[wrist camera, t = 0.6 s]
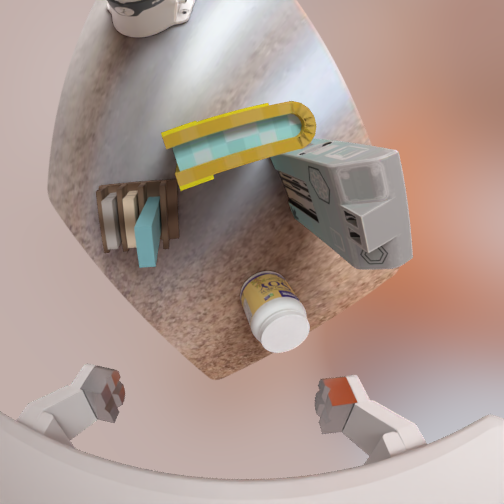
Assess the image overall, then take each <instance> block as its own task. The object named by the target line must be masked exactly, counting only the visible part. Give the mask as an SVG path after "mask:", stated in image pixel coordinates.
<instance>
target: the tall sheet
mask: <svg viewBox="0 0 504 504" xmlns="http://www.w3.org/2000/svg"><path fill="white" fill-rule="evenodd" d="M134 230H135V239H136V247H137V254H138V261H139V268H142V267H156V261H157V254H158V248H159V242H160V236H161V230H162V223H161V207H160V196H158V197H148V199H147V201H146V203H145V206H144V208H143V210H142V212H141V214H140V216H139V218H138V220H137V222H136V225H135V227H134Z"/></svg>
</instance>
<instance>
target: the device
mask: <svg viewBox="0 0 504 504" xmlns="http://www.w3.org/2000/svg"><path fill="white" fill-rule="evenodd" d="M270 158H271V160H272V163H273V165H274V168H275V169H276V170H278V172H279V174H280V177H281V179H282V182H283V184H284V187H285V189H286V192H287V195H288V197H289V200H288V203H289V206H290V208H291V211H292V214H293V216H294V218H295V219H296V220H297V221H299V222H300V223H301V224H302V225H304V226H305V227H306V228H307V229H309V230H310V231H311V232H312V233H314V234H315V235H316V236H317V237H319V238H320V239H321V240H322V241H323V242H325V243H326V244H327V245H328V246H329V247H331V248H332V249H333V250H334V251H335V252H337V253H338V254H339V255H340V256H341V257H343V258H344V259H345V260H346V261H347V262H348V263H350V264H351V265H352V266H353V267H354V268H356V269H393V268H397V267H399V266H401V265H403V264H405V263H406V262H407V261H409V260H410V259H412V258H413V255H412V241H411V228H410V219H409V210H408V203H407V195H406V189H405V183H404V177H403V171H402V166H401V161H400V156H399V152H398V151H396V150H391V149H386V148H380V147H375V146H369V145H363V144H356V143H349V142H341V141H333V140H324V139H314V138H313V139H312V141H311V143H309V144H308V145H307V146H306V147H304V148H302V149H298V150H294V151H291V152H287V153H283V154H279V155H276V156H272V157H270Z"/></svg>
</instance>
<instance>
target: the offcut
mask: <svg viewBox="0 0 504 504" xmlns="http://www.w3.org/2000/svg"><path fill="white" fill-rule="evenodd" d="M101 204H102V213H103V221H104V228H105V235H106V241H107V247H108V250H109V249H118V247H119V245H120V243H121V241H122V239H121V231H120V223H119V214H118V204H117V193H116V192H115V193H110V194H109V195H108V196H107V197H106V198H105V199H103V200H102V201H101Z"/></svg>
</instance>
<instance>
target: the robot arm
mask: <svg viewBox="0 0 504 504" xmlns="http://www.w3.org/2000/svg"><path fill="white" fill-rule="evenodd" d="M107 1H108V3H107V9H108V10H109V12H110V13H111V14H112V20H113V24H114V27H115V28H116V29H117V31H119V32H120V33H121V34H123V35H126V36H129V37H147V36H151V35H154V34H157V33H159V32H161V31H163V30H165V29H167V28H168V27H170V26H172V25H176V24H181V23H184V22H187V21H188V20H189V17H190V14H191V12H192V9H193V6H194V3H195V0H107ZM183 12H186V14H183ZM119 379H120V374H119V372H118V371H117V370H114V369H109V368H105V367H100V366H95V365H91V364H85V365H84V366H83V368H82V369H81V371H80V372H79V373H78V375H77V376H76V378H75V379H74V381H73V382H72V384H71V385H70V386H65V387H63V388H61V389H59V390H57V391H54V392H52V393H50V394H48V395H46V396H44V397H42V398H39V399H37V400H35V401H33V402H31V403H28V405H27V406H26V408H25V409H24V411H23V412H22V413H21V415H20V416H19V418H18V419H17V421H16V420H14V419H12V418H10V417H9V416H7V415H5V414H4V413H2V412H1V411H0V504H504V419H503V418H500V417H498V416H494V415H487V416H485V417H482V418H481V419H479V420H477V421H475V422H474V423H472V424H470V425H468V426H466V427H464V428H462V429H460V430H458V431H456V432H454V433H452V434H450V435H448V436H446V437H443V438H441V439H439V440H437V441H434V442H432V443H430V444H427V443H426V441H425V440H424V438H423V436H422V435H421V433H420V431H419V429H418V428H417V426H416V424H414V423H413V422H411V421H409V420H407V419H405V418H403V417H402V416H400V415H398V414H396V413H395V412H393V411H391V410H389V409H388V408H386V407H384V406H382V405H380V404H379V403H377V402H375V401H374V400H372V401H370V399H369V397H368V395H367V393H366V392H365V389H364V388H363V386H362V384H361V382H360V380H359V378H358V377H357V375H350V376H344V377H336V378H326V379H321V380H320V381H319V385H318V386H319V391H318V392H317V393H316V397H315V410H316V413H317V415H318V416H320V420H319V424H320V428H321V431H322V434H327V433H336V432H342V433H343V434H344V435H346V436H347V437H348V438H349V439H350V440H351V441H352V442H354V443H355V444H356V445H357V446H358V447H359V448H361V449H362V450H363V451H364V452H365V453H367V454H368V455H369V456H370V457H369V458H368V459H367V461H366V462H365V464H364V465H362V466H358V467H353V468H349V469H344V470H339V471H334V472H328V473H322V474H315V475H307V476H299V477H289V478H276V479H217V478H203V477H192V476H184V475H176V474H169V473H164V472H158V471H153V470H148V469H142V468H138V467H134V466H130V465H126V464H122V463H118V462H114V461H111V460H108V459H104V458H101V457H98V456H95V455H92V454H88V453H86V452H83V451H80V450H78V449H75V447H74V446H73V444H72V443H71V442H70V440H71V439H72V438H74V437H75V436H76V435H78V434H79V433H81V432H82V431H83V430H85V429H86V428H87V427H89V426H90V425H91V424H93V423H94V422H95V421H97V419H99V420H103V421H107V422H111V423H115V421H116V418H117V416H118V414H119V411H118V407H120V406H121V405H122V404H123V402H124V399H125V389H124V386H123V384H122V383H121V382H120V381H119Z"/></svg>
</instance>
